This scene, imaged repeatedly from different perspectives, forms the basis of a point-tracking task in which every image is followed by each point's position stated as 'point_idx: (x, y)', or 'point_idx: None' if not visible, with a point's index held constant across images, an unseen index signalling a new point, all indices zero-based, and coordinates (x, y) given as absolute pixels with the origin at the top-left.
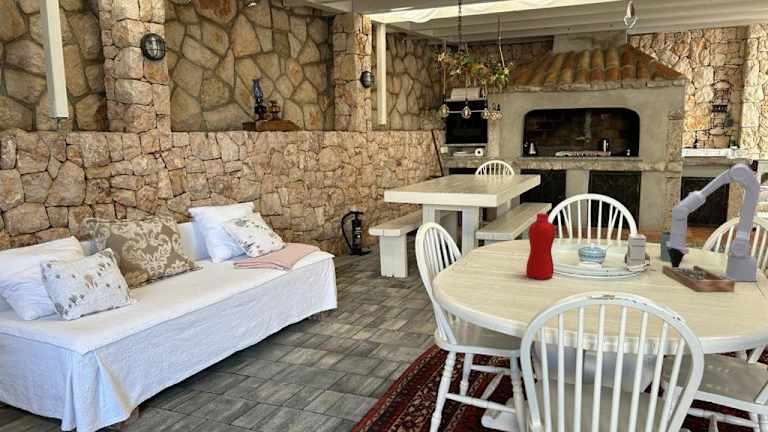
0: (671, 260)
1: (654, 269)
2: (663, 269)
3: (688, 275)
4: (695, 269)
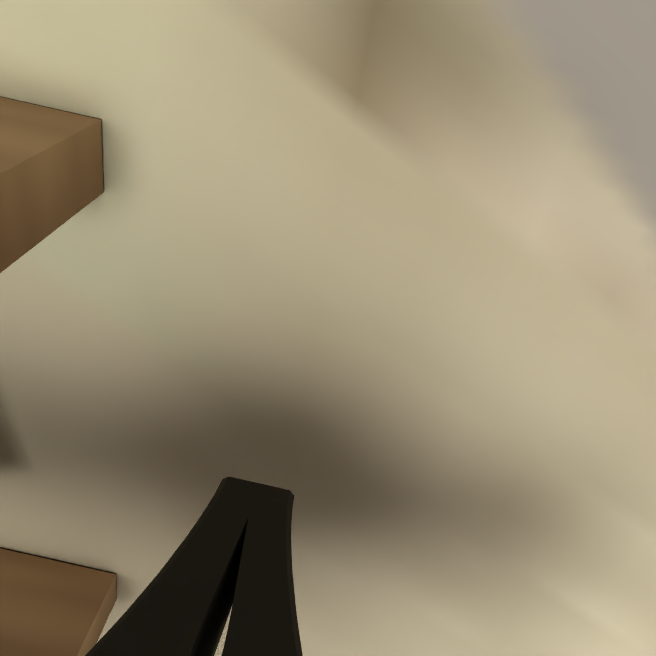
0: (250, 605)
1: (442, 143)
2: (5, 136)
3: None
4: (21, 626)
